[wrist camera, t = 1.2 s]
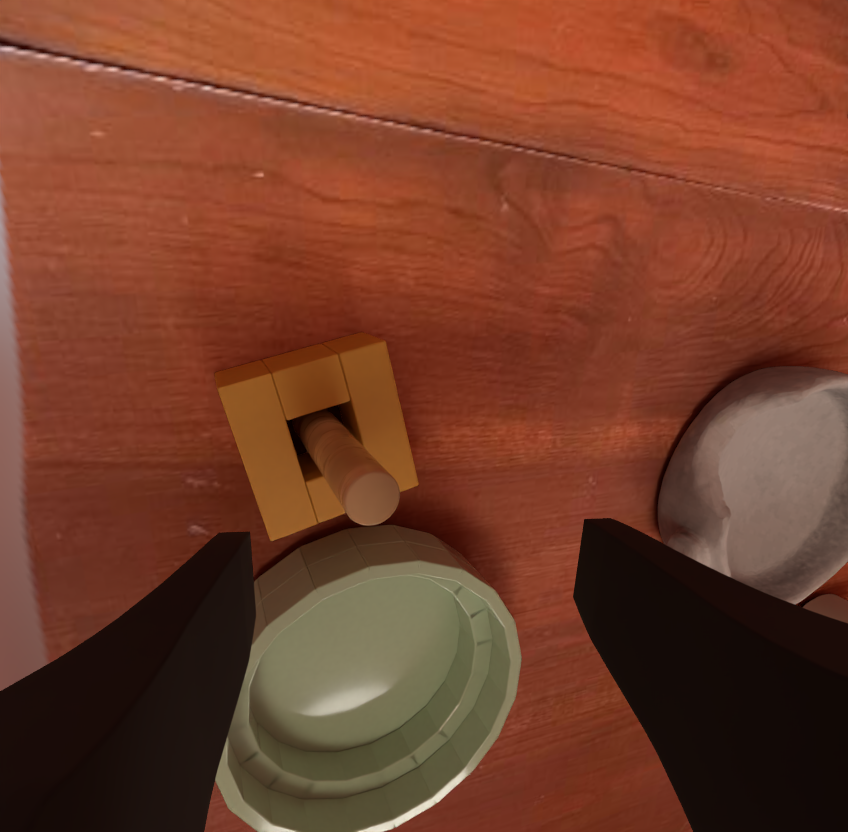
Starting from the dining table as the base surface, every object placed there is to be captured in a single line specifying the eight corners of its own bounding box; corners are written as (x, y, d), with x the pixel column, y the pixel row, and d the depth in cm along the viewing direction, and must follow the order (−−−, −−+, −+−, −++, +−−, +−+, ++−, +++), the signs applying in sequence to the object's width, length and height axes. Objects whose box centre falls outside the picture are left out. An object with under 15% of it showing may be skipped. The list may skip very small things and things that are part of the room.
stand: (261, 509, 22) (270, 542, 20) (213, 372, 20) (216, 388, 18) (394, 461, 24) (419, 485, 22) (362, 331, 22) (386, 339, 20)
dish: (615, 565, 31) (685, 615, 27) (698, 332, 29) (789, 343, 25) (768, 580, 38) (846, 623, 33) (845, 388, 36) (939, 406, 31)
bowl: (261, 814, 26) (271, 900, 23) (161, 592, 22) (155, 655, 18) (497, 688, 30) (538, 745, 27) (453, 479, 26) (496, 513, 22)
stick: (298, 444, 22) (352, 535, 15) (287, 408, 22) (337, 483, 14) (335, 432, 23) (406, 513, 15) (325, 397, 22) (393, 463, 15)
